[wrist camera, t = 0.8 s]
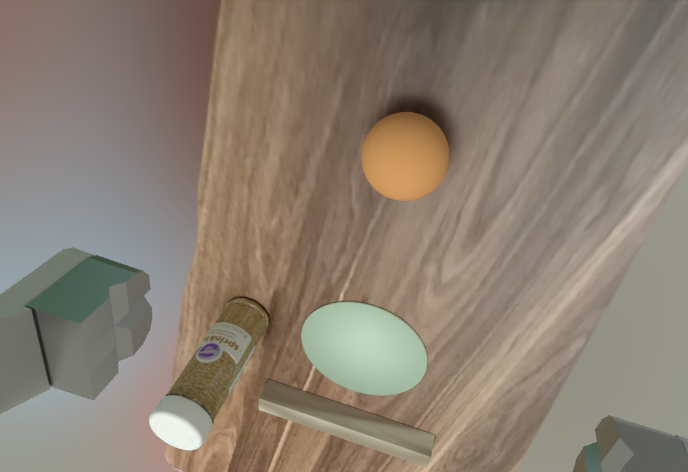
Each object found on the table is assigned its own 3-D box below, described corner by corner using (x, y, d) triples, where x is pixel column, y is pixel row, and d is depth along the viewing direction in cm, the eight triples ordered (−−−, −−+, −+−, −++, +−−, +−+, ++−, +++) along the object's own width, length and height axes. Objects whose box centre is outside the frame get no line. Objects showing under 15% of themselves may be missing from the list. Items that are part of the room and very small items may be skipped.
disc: (307, 285, 45) (306, 286, 45) (441, 326, 44) (441, 327, 44) (297, 370, 53) (296, 372, 53) (412, 408, 51) (411, 409, 51)
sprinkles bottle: (257, 293, 48) (181, 415, 38) (278, 329, 50) (211, 454, 40) (218, 298, 50) (135, 414, 39) (239, 332, 52) (166, 451, 42)
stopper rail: (268, 379, 55) (259, 398, 53) (434, 434, 53) (430, 456, 51) (268, 390, 56) (258, 409, 54) (430, 445, 54) (426, 467, 52)
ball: (380, 89, 34) (358, 123, 29) (464, 110, 33) (454, 148, 28) (366, 163, 37) (345, 203, 33) (442, 183, 36) (431, 227, 32)
